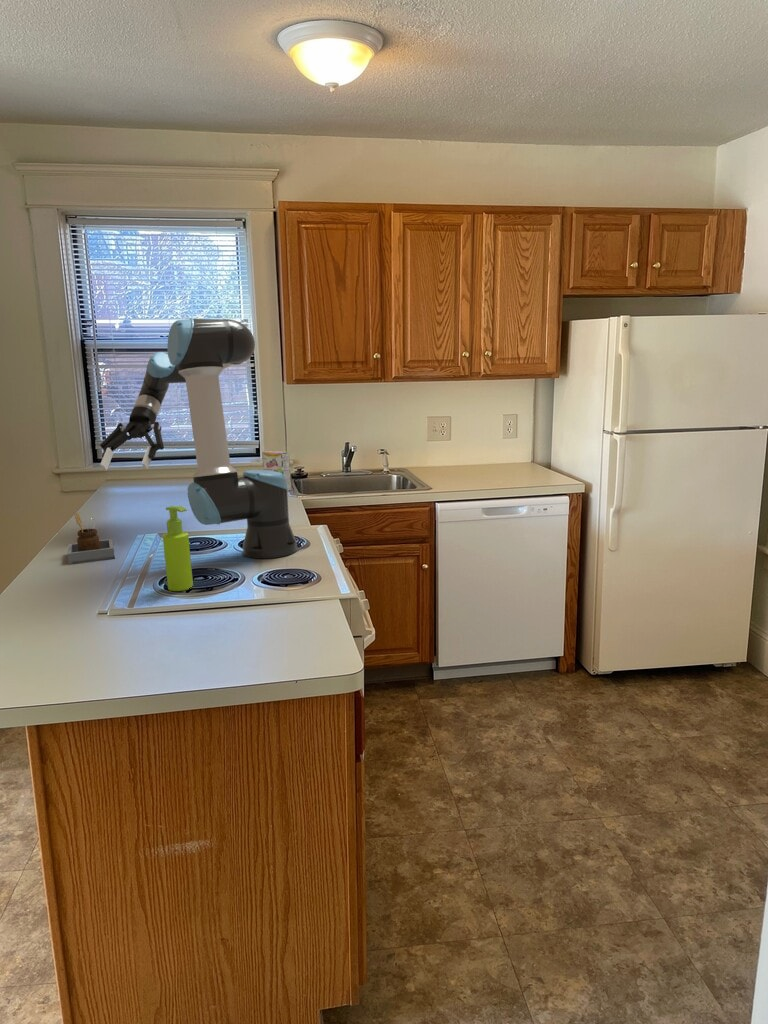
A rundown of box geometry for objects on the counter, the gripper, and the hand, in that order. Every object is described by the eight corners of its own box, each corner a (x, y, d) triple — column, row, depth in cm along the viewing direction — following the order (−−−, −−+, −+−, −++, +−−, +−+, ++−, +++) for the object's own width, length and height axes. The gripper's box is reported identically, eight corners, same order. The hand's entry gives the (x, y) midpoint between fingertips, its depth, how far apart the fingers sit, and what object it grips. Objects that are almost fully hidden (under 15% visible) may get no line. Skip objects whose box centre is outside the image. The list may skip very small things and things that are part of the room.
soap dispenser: (182, 593, 167) (174, 510, 162) (162, 589, 170) (154, 507, 166) (201, 586, 171) (193, 505, 167) (181, 582, 175) (173, 503, 171)
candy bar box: (263, 490, 298) (261, 452, 295) (271, 488, 302) (269, 450, 299) (284, 492, 292) (281, 453, 289) (292, 490, 296) (289, 451, 293)
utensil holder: (91, 557, 199) (85, 516, 196) (73, 556, 201) (68, 515, 198) (105, 552, 204) (100, 511, 201) (88, 550, 206) (83, 510, 204)
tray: (114, 558, 199) (113, 548, 199) (68, 564, 195) (67, 553, 194) (113, 548, 210) (112, 539, 209) (69, 554, 206) (68, 544, 205)
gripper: (186, 419, 222) (167, 473, 211) (115, 422, 228) (93, 475, 216) (176, 403, 216) (156, 458, 205) (103, 406, 222) (80, 460, 210)
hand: (123, 467), depth 210 cm, fingers open, 13 cm apart
